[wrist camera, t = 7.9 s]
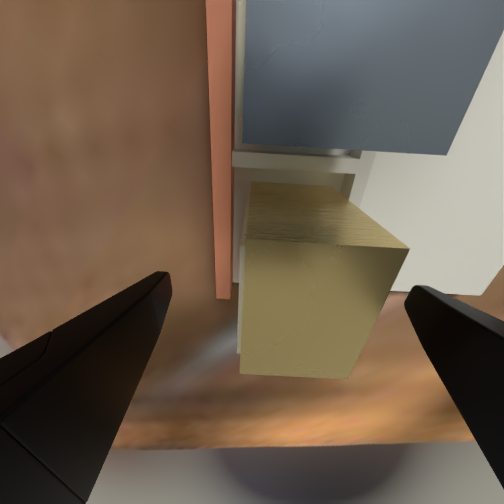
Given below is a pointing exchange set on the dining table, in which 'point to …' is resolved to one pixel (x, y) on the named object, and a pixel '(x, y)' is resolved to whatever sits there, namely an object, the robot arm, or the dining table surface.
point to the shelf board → (370, 179)
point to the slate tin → (362, 71)
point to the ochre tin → (310, 280)
